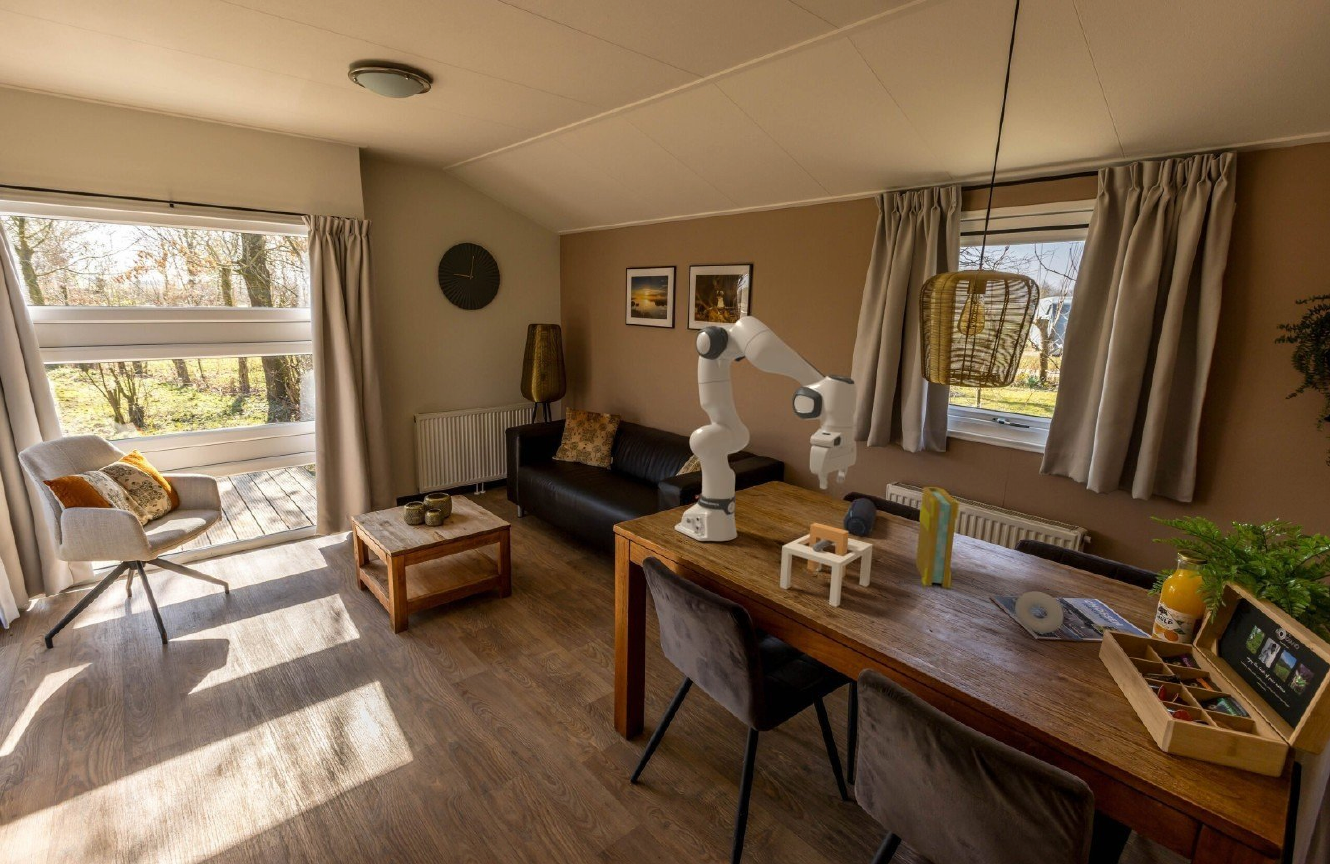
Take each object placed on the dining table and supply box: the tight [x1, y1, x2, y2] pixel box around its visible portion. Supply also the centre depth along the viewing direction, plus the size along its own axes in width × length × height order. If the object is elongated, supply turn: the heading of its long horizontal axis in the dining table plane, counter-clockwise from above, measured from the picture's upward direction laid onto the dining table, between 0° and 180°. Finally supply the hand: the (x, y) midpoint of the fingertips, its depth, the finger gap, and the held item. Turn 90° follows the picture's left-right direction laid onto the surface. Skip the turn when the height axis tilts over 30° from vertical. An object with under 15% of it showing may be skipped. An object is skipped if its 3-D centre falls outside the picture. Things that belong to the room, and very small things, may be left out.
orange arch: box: [806, 522, 849, 579], centre depth 166 cm, size 10×3×13 cm, turn 47°
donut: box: [1014, 590, 1064, 634], centre depth 143 cm, size 10×4×10 cm, turn 48°
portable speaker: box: [843, 498, 877, 537], centre depth 216 cm, size 25×10×10 cm, turn 157°
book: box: [915, 486, 960, 589], centre depth 175 cm, size 17×7×25 cm, turn 168°
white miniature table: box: [779, 533, 874, 608], centre depth 166 cm, size 17×20×14 cm
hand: (832, 485), depth 163 cm, fingers open, 8 cm apart
